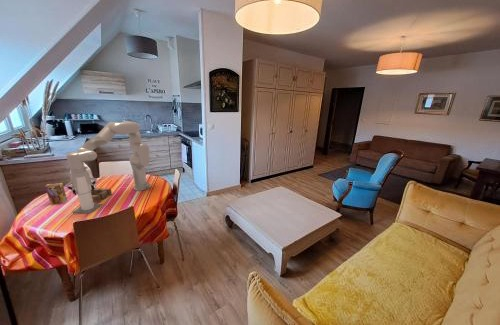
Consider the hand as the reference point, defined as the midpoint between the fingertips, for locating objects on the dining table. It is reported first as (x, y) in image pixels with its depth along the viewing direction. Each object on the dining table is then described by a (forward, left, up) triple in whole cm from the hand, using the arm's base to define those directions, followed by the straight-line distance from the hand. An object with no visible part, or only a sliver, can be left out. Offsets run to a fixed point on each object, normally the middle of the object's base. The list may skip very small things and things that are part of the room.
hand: (84, 192), depth 140 cm
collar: (+6, -16, -13) cm, 21 cm away
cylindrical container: (0, 0, -13) cm, 13 cm away
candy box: (+28, -7, -13) cm, 32 cm away
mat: (0, 0, -13) cm, 13 cm away
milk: (+26, -29, -13) cm, 41 cm away
